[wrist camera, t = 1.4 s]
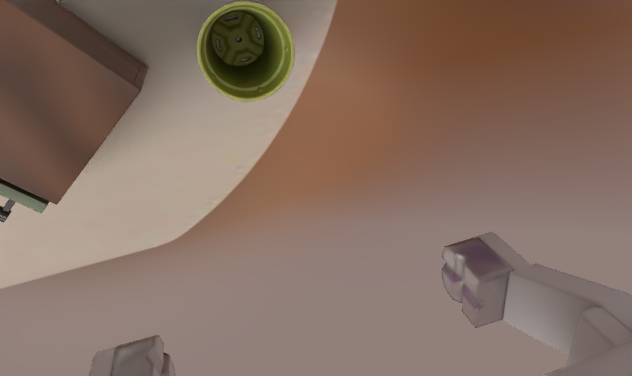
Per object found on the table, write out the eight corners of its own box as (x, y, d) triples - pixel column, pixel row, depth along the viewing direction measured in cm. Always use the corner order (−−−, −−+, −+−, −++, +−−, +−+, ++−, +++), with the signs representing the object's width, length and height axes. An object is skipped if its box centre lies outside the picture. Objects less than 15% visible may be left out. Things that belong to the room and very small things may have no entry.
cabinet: (77, 164, 49) (56, 205, 41) (-45, 100, 43) (-97, 133, 35) (148, 67, 46) (141, 90, 38) (29, -18, 40) (-10, -11, 32)
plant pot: (215, 91, 50) (221, 115, 42) (179, 10, 45) (179, 21, 37) (288, 64, 51) (306, 82, 43) (261, -19, 46) (276, -14, 38)
